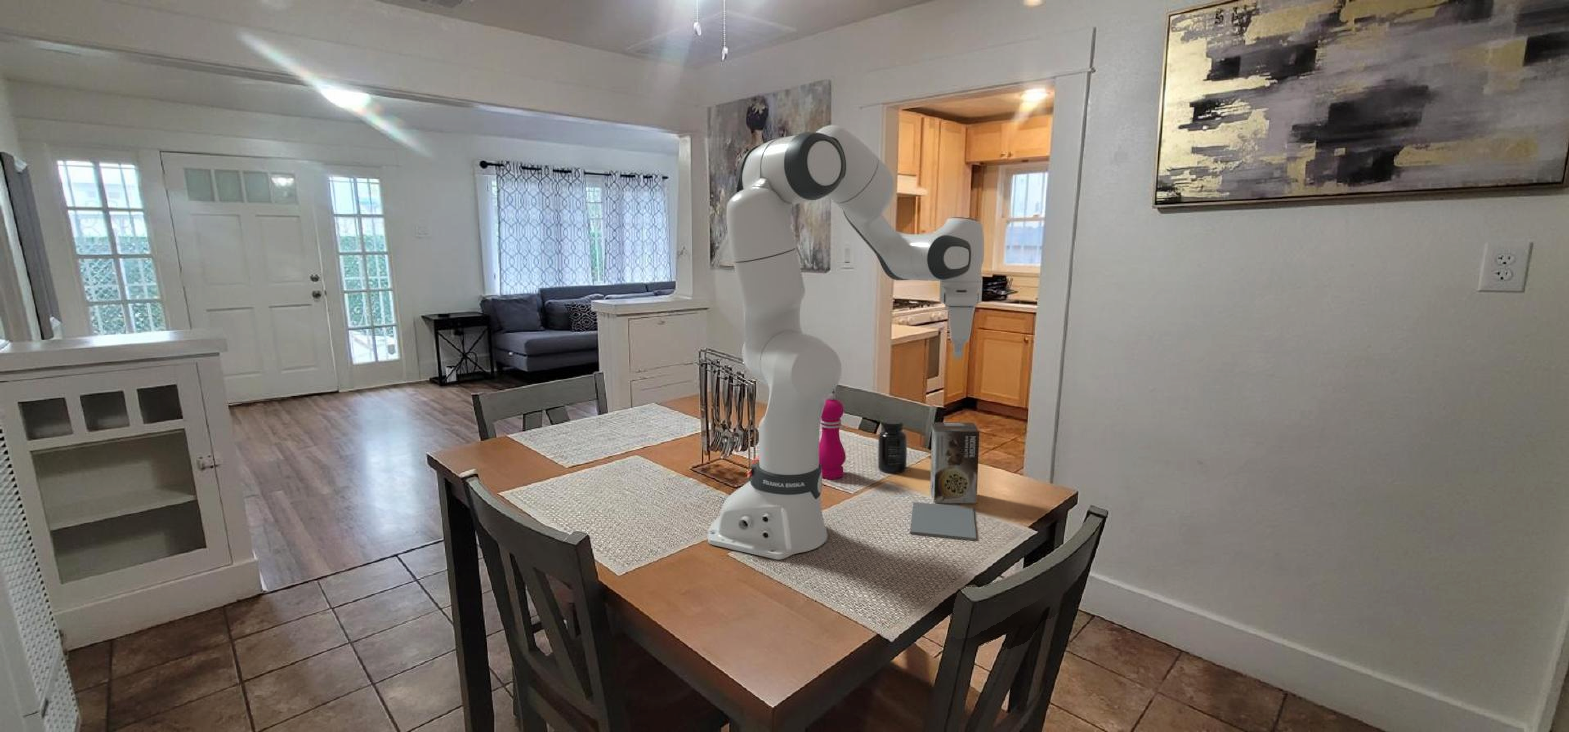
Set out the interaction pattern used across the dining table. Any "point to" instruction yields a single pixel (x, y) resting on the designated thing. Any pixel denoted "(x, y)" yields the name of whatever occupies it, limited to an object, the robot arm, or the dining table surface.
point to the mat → (943, 521)
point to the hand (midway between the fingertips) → (957, 357)
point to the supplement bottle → (892, 447)
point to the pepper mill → (831, 440)
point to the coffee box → (954, 462)
